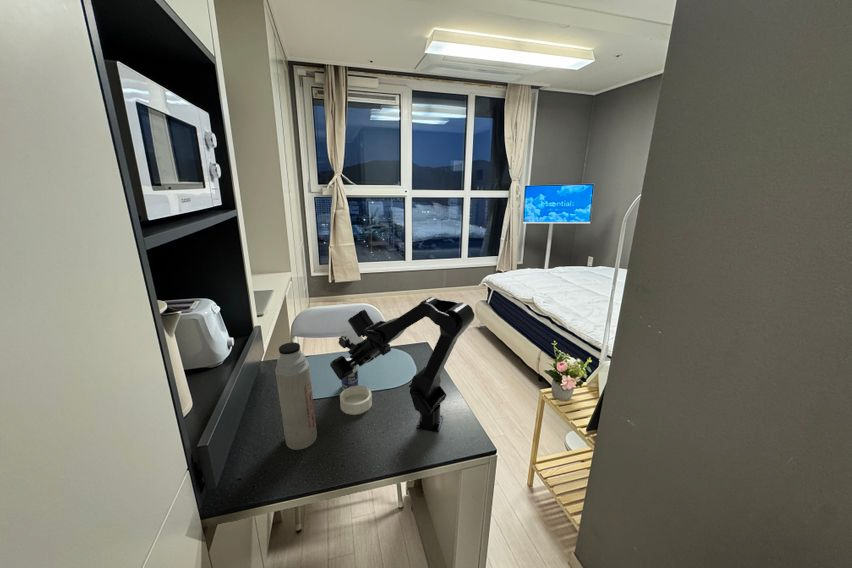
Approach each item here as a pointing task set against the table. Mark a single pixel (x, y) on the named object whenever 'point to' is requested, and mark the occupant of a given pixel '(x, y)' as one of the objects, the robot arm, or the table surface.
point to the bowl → (355, 400)
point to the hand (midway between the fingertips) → (346, 368)
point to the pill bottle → (350, 378)
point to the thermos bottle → (295, 397)
